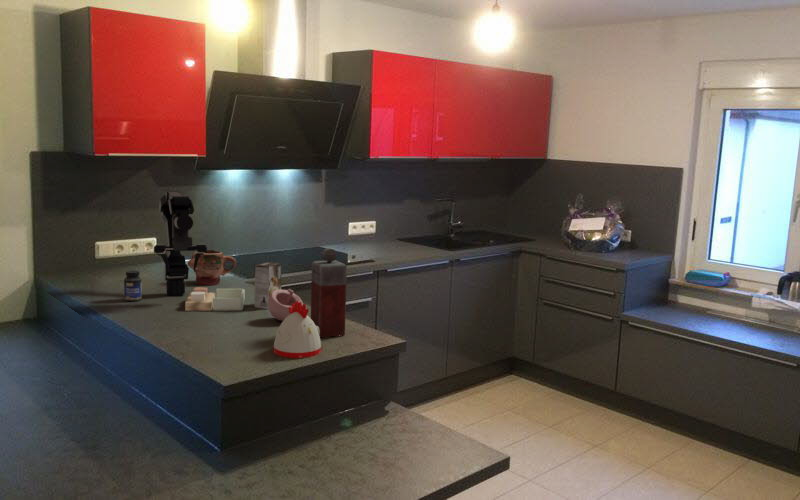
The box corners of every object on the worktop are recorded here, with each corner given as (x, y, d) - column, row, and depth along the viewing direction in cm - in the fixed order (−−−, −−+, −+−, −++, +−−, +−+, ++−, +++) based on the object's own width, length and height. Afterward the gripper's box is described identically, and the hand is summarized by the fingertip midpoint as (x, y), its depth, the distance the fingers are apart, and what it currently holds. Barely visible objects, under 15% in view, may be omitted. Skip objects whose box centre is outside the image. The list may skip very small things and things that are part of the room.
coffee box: (267, 302, 262) (267, 261, 259) (281, 304, 259) (282, 263, 257) (253, 307, 253) (254, 264, 251) (268, 309, 251) (269, 266, 248)
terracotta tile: (193, 296, 254) (193, 289, 253) (195, 293, 258) (194, 287, 258) (206, 296, 255) (206, 289, 254) (207, 293, 259) (207, 287, 259)
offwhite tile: (191, 301, 246) (191, 294, 246) (192, 298, 250) (192, 291, 250) (204, 301, 247) (204, 294, 247) (205, 298, 251) (205, 291, 251)
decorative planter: (235, 280, 302) (235, 249, 300) (236, 285, 290) (236, 253, 288) (188, 280, 297) (188, 249, 295) (187, 286, 285) (186, 253, 283)
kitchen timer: (294, 361, 192) (295, 309, 190) (264, 350, 201) (264, 300, 199) (330, 351, 202) (332, 302, 200) (300, 341, 211) (301, 294, 209)
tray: (212, 310, 246) (212, 298, 245) (216, 300, 262) (216, 288, 262) (242, 310, 248) (242, 298, 247) (244, 300, 264) (244, 288, 264)
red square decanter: (333, 327, 230) (335, 245, 226) (345, 335, 220) (347, 250, 216) (307, 329, 226) (309, 245, 222) (318, 338, 216) (320, 250, 212)
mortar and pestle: (286, 326, 228) (287, 293, 226) (260, 321, 234) (260, 288, 232) (309, 320, 238) (310, 287, 236) (283, 314, 244) (284, 283, 242)
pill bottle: (125, 302, 253) (124, 273, 251) (123, 299, 258) (122, 270, 256) (142, 301, 255) (142, 272, 254) (140, 298, 261) (140, 269, 259)
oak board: (185, 310, 244) (185, 302, 244) (190, 300, 260) (190, 292, 260) (211, 310, 246) (211, 302, 245) (215, 300, 262) (215, 292, 262)
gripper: (152, 230, 242) (153, 274, 243) (206, 230, 247) (207, 273, 248) (154, 229, 253) (155, 271, 254) (206, 229, 258) (207, 270, 259)
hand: (181, 271), depth 254 cm, fingers open, 9 cm apart
